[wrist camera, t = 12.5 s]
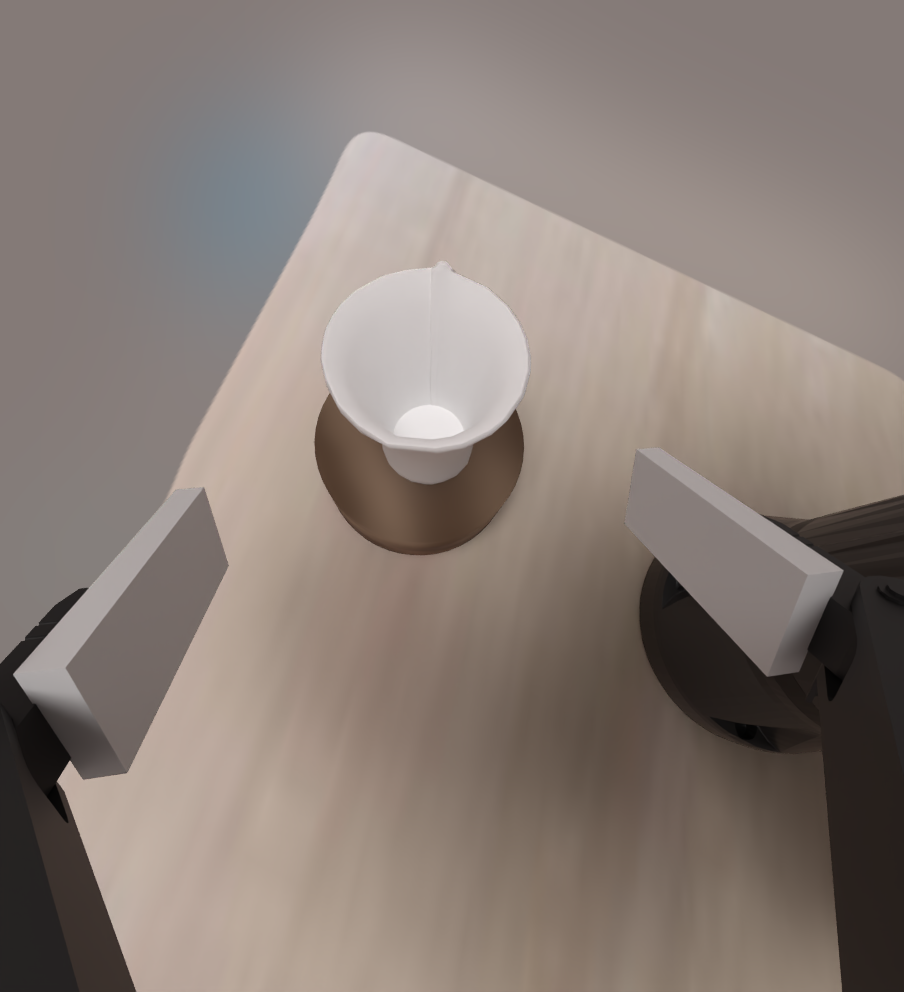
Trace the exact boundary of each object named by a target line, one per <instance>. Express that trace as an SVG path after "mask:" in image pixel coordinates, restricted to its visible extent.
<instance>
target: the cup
mask: <svg viewBox="0 0 904 992" xmlns="http://www.w3.org/2000/svg"><path fill="white" fill-rule="evenodd" d="M321 365H322V370H323V374H324V378H325V382H326V386H327V388H328V390H329V392H330V394H331V395H332V397H333V399H334V401H335V403H336V405H337V407H338V409H339V410H340V412H341V414H342V415H343V416H344V417H345V418H346V419H347V420H348V421H349V422H350V423H351V424H352V425H353V426H354V427H355V428H356V429H357V430H358V431H359V432H361V433H362V434H364V435H366V436H367V437H369V438H371V439H373V440H375V441H377V442H379V443H381V444H382V447H383V451H384V453H385V456H386V458H387V461H388V463H389V465H390V466H391V467H392V468H393V469H394V470H395V471H396V472H397V473H398V474H399V475H400V476H402V477H404V478H406V479H408V480H409V481H411V482H416V483H421V484H431V485H433V484H437V483H441V482H444V481H446V480H448V479H451V478H453V477H455V476H457V475H458V474H459V473H460V472H461V470H462V469H463V468H464V467H465V466H466V465H467V464H468V461H469V458H470V455H471V452H472V448H473V444H475V443H477V442H479V441H481V440H482V439H484V438H486V437H488V436H490V435H492V434H493V433H494V432H495V431H497V430H498V429H499V428H500V427H501V426H502V425H503V424H504V423H505V422H506V421H507V420H508V419H509V418H510V416H511V415H512V413H513V412H514V410H515V409H516V407H517V406H518V404H519V403H520V402H521V400H522V399H523V397H524V394H525V391H526V387H527V384H528V380H529V376H530V372H531V355H530V350H529V345H528V340H527V337H526V334H525V332H524V330H523V327H522V325H521V323H520V322H519V320H518V319H517V317H516V316H515V314H514V313H513V311H512V310H511V308H510V307H509V306H508V305H507V304H506V303H505V302H504V301H503V300H501V299H500V298H499V297H498V296H497V295H496V294H495V293H494V292H493V291H492V290H490V289H489V288H488V287H486V286H484V285H482V284H480V283H477V282H475V281H473V280H471V279H469V278H466V277H464V276H462V275H460V274H458V273H456V272H455V271H454V270H453V269H452V268H451V266H450V265H449V263H448V262H447V261H439V262H437V264H436V265H435V266H434V267H432V268H421V269H410V270H404V271H400V272H396V273H391V274H387V275H383V276H381V277H379V278H377V279H375V280H373V281H372V282H370V283H368V284H366V285H364V286H363V287H361V288H359V289H357V290H355V291H354V292H353V293H352V294H351V295H350V296H349V297H347V298H346V299H345V300H344V301H343V302H342V303H341V304H340V306H339V307H338V308H337V310H336V311H335V312H334V314H333V316H332V317H331V319H330V321H329V323H328V325H327V327H326V329H325V333H324V337H323V341H322V348H321Z"/></svg>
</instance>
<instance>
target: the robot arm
mask: <svg viewBox="0 0 904 992" xmlns="http://www.w3.org/2000/svg"><path fill="white" fill-rule="evenodd" d="M624 524H625V525H626V526H627V527H628V528H629V529H630V530H631V531H632V532H633V534H634V535H635V536H636V537H637V538H638V539H639V540H640V541H641V542H642V543H643V544H644V545H645V546H646V547H647V549H648V550H649V551H650V552H651V553H652V554H653V555H654V556H655V557H656V558H655V559H654V561H653V563H652V565H651V566H650V569H649V571H648V573H647V576H646V579H645V582H644V586H643V590H642V595H641V603H640V622H641V631H642V637H643V641H644V645H645V649H646V652H647V655H648V658H649V661H650V663H651V665H652V668H653V670H654V672H655V674H656V676H657V678H658V679H659V681H660V683H661V684H662V686H663V688H664V689H665V690H666V692H667V693H668V695H669V696H670V697H671V698H672V700H673V701H674V702H675V703H676V704H677V705H678V706H679V708H680V709H681V710H682V711H683V712H684V713H686V714H687V715H688V716H689V717H690V718H691V719H692V720H694V721H695V722H696V723H698V724H699V725H700V726H702V727H703V728H705V729H707V730H708V731H710V732H712V733H714V734H716V735H718V736H720V737H722V738H724V739H727V740H729V741H732V742H735V743H738V744H741V745H744V746H747V747H750V748H753V749H756V750H760V751H765V752H771V753H780V754H799V753H807V752H815V751H823V762H824V775H825V787H826V799H827V811H828V823H829V836H830V848H831V860H832V872H833V884H834V896H835V909H836V921H837V933H838V945H839V957H840V969H841V982H842V992H904V495H901V496H897V497H893V498H890V499H886V500H882V501H878V502H874V503H870V504H867V505H863V506H859V507H855V508H851V509H848V510H844V511H840V512H836V513H832V514H829V515H825V516H822V517H818V518H815V519H811V520H805V519H794V518H783V517H772V516H764V515H761V514H758V513H757V512H755V511H754V510H752V509H751V508H749V507H748V506H746V505H745V504H743V503H742V502H740V501H739V500H737V499H736V498H734V497H733V496H731V495H730V494H728V493H727V492H725V491H724V490H722V489H721V488H719V487H718V486H716V485H715V484H713V483H712V482H710V481H709V480H707V479H706V478H704V477H703V476H701V475H700V474H698V473H697V472H695V471H694V470H692V469H691V468H689V467H688V466H686V465H685V464H683V463H682V462H680V461H679V460H677V459H676V458H674V457H673V456H671V455H670V454H668V453H667V452H665V451H664V450H662V449H661V448H659V447H656V448H645V449H636V455H635V461H634V467H633V473H632V479H631V485H630V492H629V498H628V504H627V510H626V516H625V522H624ZM228 566H229V565H228V562H227V559H226V556H225V552H224V549H223V546H222V543H221V540H220V536H219V533H218V530H217V527H216V524H215V520H214V517H213V514H212V511H211V508H210V505H209V501H208V498H207V495H206V492H205V489H204V487H200V488H189V489H177V490H175V491H174V492H173V493H172V495H171V496H170V497H169V498H168V499H167V500H166V501H165V502H164V504H163V505H162V506H161V507H160V508H159V509H158V510H157V512H156V513H155V514H154V515H153V516H152V517H151V518H150V520H149V521H148V522H147V523H146V524H145V525H144V526H143V528H142V529H141V530H140V531H139V532H138V533H137V534H136V535H135V536H134V538H133V539H132V540H131V541H130V542H129V543H128V544H127V546H126V547H125V548H124V549H123V550H122V551H121V552H120V554H119V555H118V556H117V557H116V558H115V559H114V560H113V561H112V563H111V564H110V565H109V566H108V567H107V568H106V569H105V571H104V572H103V573H102V574H101V575H100V576H99V577H98V578H97V580H96V581H95V582H94V583H93V584H92V585H91V586H90V588H82V589H78V590H77V591H75V592H74V593H72V594H71V595H69V596H68V597H66V598H65V599H63V600H62V601H61V602H59V603H58V604H56V605H55V606H54V607H53V608H52V609H51V610H50V611H49V612H48V613H47V615H46V616H45V617H44V618H43V619H42V620H41V621H40V622H39V626H35V627H34V628H33V629H32V630H31V632H30V633H29V634H28V635H27V636H26V637H25V641H21V642H20V643H19V645H18V646H16V648H15V649H14V650H13V651H12V652H11V653H10V654H9V655H8V656H7V657H6V658H5V659H4V660H3V662H2V663H1V664H0V992H136V990H135V987H134V984H133V982H132V979H131V976H130V973H129V970H128V968H127V965H126V962H125V959H124V956H123V954H122V951H121V948H120V945H119V943H118V940H117V937H116V934H115V931H114V929H113V926H112V923H111V920H110V917H109V915H108V912H107V909H106V906H105V904H104V901H103V898H102V895H101V892H100V890H99V887H98V884H97V881H96V878H95V876H94V873H93V870H92V867H91V865H90V862H89V859H88V856H87V853H86V851H85V848H84V845H83V842H82V839H81V837H80V834H79V831H78V828H77V826H76V823H75V820H74V817H73V814H72V812H71V809H70V806H69V803H68V800H67V798H66V795H65V792H64V791H63V789H62V788H61V786H60V785H59V784H58V782H57V780H58V778H59V777H60V775H61V774H62V772H63V770H64V769H65V767H66V765H67V764H68V762H69V761H71V762H72V764H73V765H74V767H75V768H76V770H77V771H78V773H79V774H80V776H81V777H82V779H83V780H84V779H91V778H97V777H104V776H111V775H117V774H124V773H127V772H128V770H129V768H130V766H131V764H132V762H133V760H134V758H135V756H136V754H137V752H138V750H139V748H140V746H141V744H142V742H143V740H144V738H145V736H146V734H147V731H148V729H149V727H150V725H151V723H152V721H153V719H154V717H155V715H156V713H157V711H158V709H159V707H160V705H161V703H162V701H163V699H164V697H165V695H166V693H167V691H168V689H169V687H170V685H171V682H172V680H173V678H174V676H175V674H176V672H177V670H178V668H179V666H180V664H181V662H182V660H183V658H184V656H185V654H186V652H187V650H188V648H189V646H190V644H191V642H192V640H193V638H194V635H195V633H196V631H197V629H198V627H199V625H200V623H201V621H202V619H203V617H204V615H205V613H206V611H207V609H208V607H209V605H210V603H211V601H212V599H213V597H214V595H215V593H216V591H217V589H218V586H219V584H220V582H221V580H222V578H223V576H224V574H225V572H226V570H227V568H228Z"/></svg>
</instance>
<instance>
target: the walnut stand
mask: <svg viewBox="0 0 904 992" xmlns="http://www.w3.org/2000/svg"><path fill="white" fill-rule="evenodd" d="M523 453H524V440H523V432H522V427H521V423H520V420H519V417H518V414H517V411H516V409H515V410H514V412H513V413H512V415H511V416H510V418H509V419H508V420H507V421H506V422H505V423H504V424H503V425H502V426H501V427H500V428H499V429H498V430H497V431H495V432H494V433H493V434H492V435H490V436H488V437H486V438H484V439H482V440H481V441H479V442H477V443H475V444H473V448H472V452H471V455H470V458H469V461H468V464H467V465H466V466H465V467H464V468H463V469H462V470H461V472H460V473H459V474H458V475H457V476H455V477H453V478H451V479H448V480H446V481H444V482H441V483H437V484H433V485H431V484H421V483H416V482H411V481H409V480H408V479H406V478H404V477H402V476H400V475H399V474H398V473H397V472H396V471H395V470H394V469H393V468H392V467H391V466H390V465H389V463H388V461H387V458H386V456H385V453H384V451H383V447H382V444H381V443H379V442H377V441H375V440H373V439H371V438H369V437H367V436H366V435H364V434H362V433H361V432H359V431H358V430H357V429H356V428H355V427H354V426H353V425H352V424H351V423H350V422H349V421H348V420H347V419H346V418H345V417H344V416H343V415H342V414H341V412H340V410H339V409H338V407H337V405H336V403H335V401H334V399H333V397H332V395H331V394H329V395H328V397H327V399H326V401H325V403H324V404H323V407H322V409H321V412H320V414H319V417H318V421H317V426H316V432H315V456H316V461H317V465H318V469H319V472H320V475H321V478H322V480H323V482H324V484H325V486H326V488H327V490H328V492H329V494H330V495H331V497H332V499H333V500H334V502H335V504H336V505H337V507H338V509H339V510H340V512H341V514H342V515H343V516H344V518H345V519H346V521H347V522H348V523H349V524H350V525H351V526H352V527H353V528H354V529H355V530H356V531H357V532H358V533H359V534H360V535H362V536H363V537H364V538H365V539H367V540H369V541H370V542H372V543H374V544H375V545H377V546H380V547H382V548H384V549H387V550H390V551H394V552H397V553H402V554H409V555H429V554H437V553H441V552H445V551H449V550H451V549H454V548H456V547H459V546H461V545H462V544H464V543H466V542H468V541H469V540H471V539H472V538H474V537H475V536H476V535H478V534H479V533H480V532H481V531H482V530H483V529H484V528H485V527H486V526H487V525H488V524H489V522H490V521H491V520H492V518H493V517H494V516H495V514H496V513H497V512H498V510H499V509H500V508H501V506H502V505H503V504H504V502H505V501H506V500H507V498H508V497H509V496H510V494H511V492H512V490H513V488H514V487H515V485H516V482H517V480H518V477H519V474H520V471H521V467H522V462H523Z"/></svg>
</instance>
